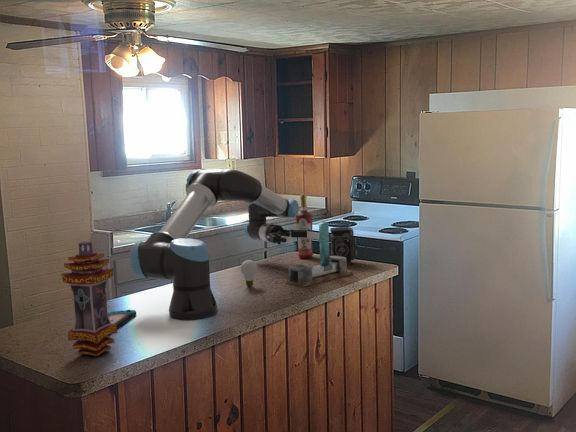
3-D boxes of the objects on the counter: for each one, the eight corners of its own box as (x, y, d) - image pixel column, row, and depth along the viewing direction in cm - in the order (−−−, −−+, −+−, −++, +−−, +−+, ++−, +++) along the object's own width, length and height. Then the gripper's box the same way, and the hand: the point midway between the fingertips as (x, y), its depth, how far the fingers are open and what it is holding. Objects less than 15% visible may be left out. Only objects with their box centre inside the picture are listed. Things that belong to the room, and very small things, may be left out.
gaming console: (108, 309, 203) (137, 308, 201) (110, 317, 204) (138, 315, 202) (70, 334, 180) (103, 332, 178) (72, 342, 180) (104, 341, 178)
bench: (302, 286, 228) (301, 268, 227) (286, 282, 235) (285, 265, 234) (352, 273, 245) (352, 257, 244) (336, 270, 251) (335, 254, 250)
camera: (358, 265, 258) (357, 229, 256) (332, 266, 258) (331, 230, 256) (355, 260, 268) (354, 225, 266) (331, 261, 269) (329, 226, 266)
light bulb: (258, 284, 233) (257, 258, 232) (256, 289, 228) (255, 261, 226) (243, 285, 234) (241, 258, 233) (240, 289, 228) (239, 262, 227)
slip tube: (308, 278, 233) (306, 226, 230) (301, 277, 236) (299, 225, 233) (342, 270, 244) (341, 220, 242) (335, 268, 247) (334, 219, 245)
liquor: (315, 255, 281) (313, 193, 278) (312, 259, 274) (309, 195, 270) (299, 255, 283) (296, 193, 279) (295, 259, 276) (293, 195, 272)
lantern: (67, 357, 165) (57, 244, 161) (90, 345, 173) (81, 238, 169) (98, 361, 161) (88, 246, 157) (120, 349, 170) (112, 239, 166)
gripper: (295, 238, 272) (329, 243, 256) (248, 246, 256) (281, 252, 240) (294, 220, 271) (328, 225, 255) (247, 228, 255) (280, 233, 239)
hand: (305, 238), depth 247 cm, fingers open, 13 cm apart
